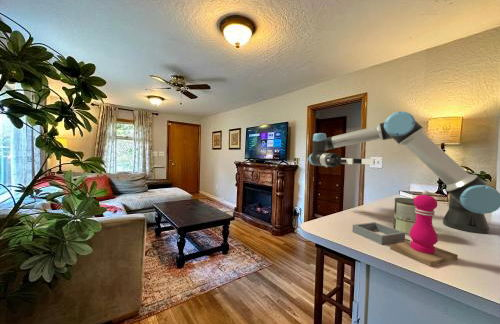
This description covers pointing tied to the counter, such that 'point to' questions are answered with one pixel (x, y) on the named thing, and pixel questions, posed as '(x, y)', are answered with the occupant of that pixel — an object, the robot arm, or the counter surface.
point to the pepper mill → (424, 224)
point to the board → (424, 254)
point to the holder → (390, 236)
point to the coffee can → (404, 215)
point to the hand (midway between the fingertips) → (363, 161)
